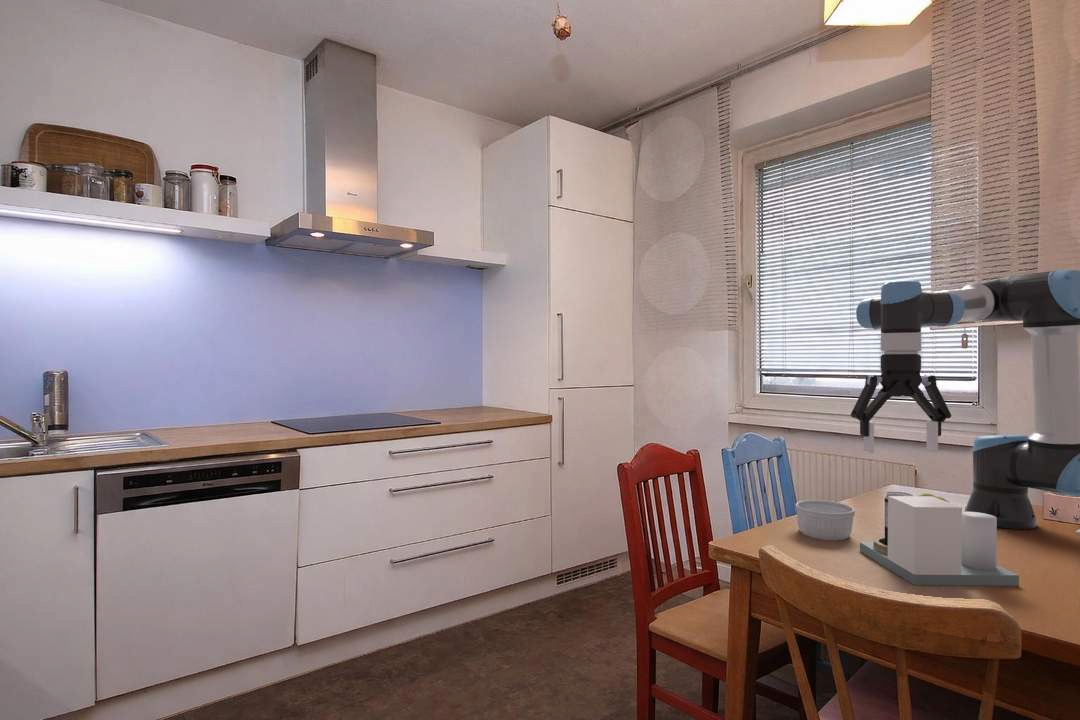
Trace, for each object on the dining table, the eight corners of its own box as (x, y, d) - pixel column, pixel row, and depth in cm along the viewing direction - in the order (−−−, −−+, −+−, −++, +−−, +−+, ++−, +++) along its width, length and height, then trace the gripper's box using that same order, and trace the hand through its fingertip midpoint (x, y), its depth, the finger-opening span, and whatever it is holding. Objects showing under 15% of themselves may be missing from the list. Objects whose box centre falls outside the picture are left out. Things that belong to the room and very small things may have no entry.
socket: (907, 543, 135) (907, 536, 135) (935, 557, 125) (935, 550, 125) (864, 543, 135) (865, 536, 135) (889, 557, 125) (889, 550, 125)
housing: (931, 559, 125) (931, 496, 125) (961, 574, 116) (962, 507, 116) (887, 558, 125) (888, 496, 125) (914, 574, 116) (914, 507, 116)
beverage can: (919, 554, 127) (918, 497, 127) (889, 552, 128) (888, 495, 129) (910, 547, 132) (910, 492, 133) (881, 544, 134) (881, 490, 134)
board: (949, 551, 136) (949, 498, 135) (1018, 585, 116) (1019, 523, 115) (859, 551, 136) (860, 497, 136) (914, 585, 116) (914, 522, 116)
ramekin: (826, 545, 140) (827, 515, 140) (783, 530, 152) (783, 502, 152) (866, 538, 145) (867, 509, 145) (821, 524, 157) (821, 497, 157)
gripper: (947, 352, 133) (946, 448, 134) (834, 353, 134) (834, 448, 134) (971, 352, 126) (970, 454, 126) (851, 353, 126) (851, 454, 126)
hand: (900, 451), depth 130 cm, fingers open, 13 cm apart
